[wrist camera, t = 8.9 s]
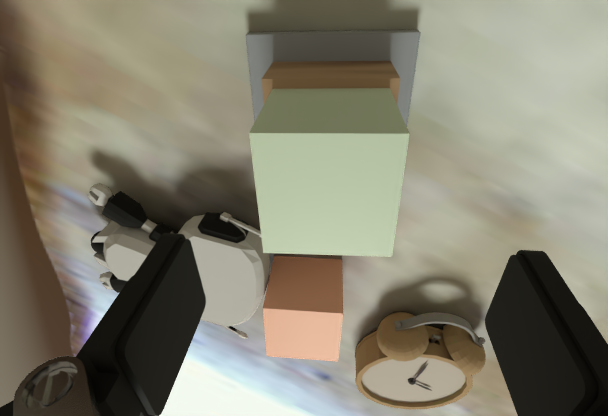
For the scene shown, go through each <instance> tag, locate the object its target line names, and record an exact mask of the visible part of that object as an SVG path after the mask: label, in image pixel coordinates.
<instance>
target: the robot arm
mask: <svg viewBox="0 0 608 416" xmlns="http://www.w3.org/2000/svg"><path fill="white" fill-rule="evenodd" d="M205 305H206V297H205V293H204V289H203V286H202V282H201V278H200V274H199V271H198V267H197V263H196V260H195V256H194V252H193V248H192V245H191V241H190V240H189V239H186V238H185V236H184V235H183V234H173V233H164V234H162V235H161V236H160V238H159V239H158V241H157V242H156V244H155V245H154V247H153V248H152V250H151V251H150V253H149V254H148V255H147V257H146V258H145V260H144V261H143V263H142V264H141V266H140V267H139V269H138V270H137V272H136V273H135V275H134V276H132V277H131V278H130V279H129V280H128V281H127V283H126V284H125V286H124V287H123V289H122V290H121V292H120V293H119V295H118V296H117V298H116V299H115V300H114V302H113V303H112V305H111V306H110V308H109V309H108V311H107V312H106V314H105V315H104V317H103V318H102V319H101V321H100V322H99V324H98V325H97V327H96V328H95V330H94V331H93V333H92V334H91V336H90V337H89V339H88V340H87V341H86V343H85V344H84V346H83V347H82V349H81V350H80V352H79V353H78V355H77V356H76V357H73V356H61V357H57V358H54V359H51V360H48V361H46V362H45V363H43V364H41V365H39V366H38V367H36V368H35V369H34V370H33V371H31V372H30V373H29V374H28V375H27V376H26V377H25V379H24V380H23V381H22V382H21V383H20V385H19V387H18V389H17V390H16V392H15V396H14V400H13V401H11V402H10V403H8V404H6V405H4V406H2V407H0V416H159V415H160V414H161V413H162V411H163V409H164V407H165V404H166V402H167V399H168V397H169V395H170V392H171V390H172V387H173V385H174V382H175V380H176V378H177V375H178V373H179V370H180V368H181V365H182V363H183V360H184V358H185V356H186V353H187V351H188V348H189V346H190V343H191V341H192V339H193V336H194V334H195V331H196V329H197V326H198V324H199V322H200V319H201V317H202V314H203V312H204V309H205ZM485 325H486V329H487V332H488V335H489V338H490V340H491V343H492V346H493V349H494V351H495V354H496V357H497V360H498V362H499V365H500V368H501V371H502V373H503V376H504V379H505V381H506V384H507V387H508V390H509V392H510V395H511V398H512V401H513V403H514V406H515V409H516V412H517V414H518V416H608V344H607V343H606V341H605V340H604V338H603V336H602V335H601V333H600V332H599V330H598V329H597V327H596V326H595V324H594V323H593V321H592V320H591V318H590V317H589V315H588V314H587V312H586V311H585V309H584V308H583V307H582V306H581V305H580V304H579V303H578V301H577V300H576V298H575V297H574V295H573V293H572V292H571V290H570V289H569V287H568V286H567V284H566V283H565V281H564V280H563V278H562V277H561V275H560V274H559V272H558V271H557V269H556V268H555V266H554V265H553V263H552V262H551V260H550V259H549V257H548V256H547V254H546V253H545V252H543V251H528V250H519V251H518V252H517V254H516V255H512V256H510V258H509V260H508V263H507V265H506V268H505V270H504V273H503V275H502V278H501V280H500V283H499V285H498V287H497V290H496V292H495V295H494V297H493V300H492V302H491V305H490V307H489V309H488V312H487V314H486V318H485Z"/></svg>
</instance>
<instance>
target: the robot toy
mask: <svg viewBox="0 0 608 416" xmlns="http://www.w3.org/2000/svg"><path fill="white" fill-rule="evenodd" d="M90 190H91V191H90V192H89V193H88V196H89V199H90V200H91V201H92V202H93V203H94V204H95V205H99V206H104V207H105V208H104V210H103V212H102V214H103V215H105V216H106V217H108V218H109V219H111V220H112V221H111V222H110V223H109V224H108V225H107V226H106V227H105V228H104V229H103V230H102V231H99V232H97V233H96V234H94V235H93V237H92V239H91V246H92V248H93V249H94V250H95V251H96V252H97V253H96V254H95V255H94V257H95V259H96V260H97V261H98V263H99V264H101V265H103V266H104V267H106V268H108V269H109V270H110V271H111V272H106V273H103V274H101V275H100V278H99V280H100V281H101V282H104V283H103V286H104V287H105V288H106V289H111V290H115V291H116V292H117V293H118V292H121V290H122V289H123V287H124V286H125V284H126V283H127V281H128V280H129V279H130V278H131V277H132V276H134V275H135V273H136V272H137V270H138V269H139V267H140V266H141V264H142V263H143V261H144V260H145V258H146V257H147V255H148V254H149V253H150V251H151V250H152V248H153V247H154V245H155V244H156V242H157V241H158V239H159V238H160V236H161V235H162V234H164V233H173V234H174V232H172V230H173V229H171V228H170V227H168V226H167V225H165V224H164V223H162V222H161V223H158V224H156V223H153V222H151V221H150V220H148V218H147V216H146V214H145V212H144V210H143V208H142V206H141V205H140V203H138V202H137V201H135V200H134V199H132V198H131V197H129V196H128V195H126V194H125V193H123V192H122V191H120V192H119V193H117V194H116V195H115V196H114V195H113V193H112V192H111V191H110V189H109V188H108V187H107V186H104V185H102V184H95V185H93V186H92V187H91V189H90ZM178 234H183V235H184V236H185V238H186V239H189V240H190V241H191V245H192V248H193V252H194V256H195V260H196V263H197V267H198V271H199V274H200V278H201V282H202V286H203V289H204V293H205V297H206V305H205V309H204V312H203V314H202V317H201V319H200V320H203V321H207V322H210V323H214V324H218V325H221V326H223V327H225V328H227V329H229V330H230V331H232V332H234V333H236V334H238V335H239V336H240V337H241V338H243V339H245V338H248V336H247V334H246V333H244V332H242V331H239V330H237V329H235V328H233V327H231V326H233V325H238V324H241V323H243V322H245V321H247V320H248V319H249V318H250V317H252V315H253V314H254V313H255V311H256V310H257V308H258V306H259V304H260V302H261V300H262V298H263V296H264V294H265V291H266V288H267V284H268V281H269V271H270V259H269V253H263V246H262V238H261V231H259V230H257V229H255V228H253V227H252V226H249V224H247V223H246V222H244V221H242V220H239V219H237V218H234V217H231V215H230V214H228V213H226V212H224V213H222V214H220V213H206V214H205V215H199V216H193V217H192V218H191V219H190V220H188V221H187V222H186V223H185V224H184V226H183V227H182V228H181V230H180V231H179V232H178Z"/></svg>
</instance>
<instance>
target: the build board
mask: <svg viewBox="0 0 608 416" xmlns="http://www.w3.org/2000/svg"><path fill="white" fill-rule="evenodd" d="M419 38H420V32H419V31H418V30H366V31H300V32H249V33H247V34H246V43H247V53H248V62H249V72H250V81H251V91H252V101H253V110H254V120H255V121H256V119H257V117H258V115H259V113H260V112H261V110H262V108H263V106H264V101H263V90H262V77H263V76H264V74H265V73H266V71H267V70H268V69H269V67H270V66H271V64H272V63H273V62H302V61H391V62H392V64H393V66H394V68H395V70H396V71H397V73H398V75H399V77H400V86H399V94H398V102H397V106H398V108H399V110H400V113H401V115H402V117H403V120H404V122H405V124H406V127H407V123H408V116H409V109H410V102H411V95H412V88H413V81H414V73H415V66H416V59H417V52H418V45H419Z"/></svg>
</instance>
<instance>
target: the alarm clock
mask: <svg viewBox="0 0 608 416" xmlns="http://www.w3.org/2000/svg"><path fill="white" fill-rule="evenodd" d="M432 323H442V324H447V325H445V326H444V327H443V330H441V329H438V328H435V327H431V326H425V325H424V324H432ZM484 343H485V339H484V338H482V337H480V338H479V337H478V336H477V335H476V334H475V333H474V332H473V330H472V327H471V325H470V324H469V322H468V321H466V320H465V319H463V318H461V317H459V316H456V315H453V314H448V313H433V312H432V313H424V314H420V315H417V316H414V315H412V314H409V313H406V312H397V313H392V314H390V315H388V316H386V317H385V318H384V319H383V320H382V321H381V323H380V325H379V327H378V329H377V331H375V332H373V333H371V334H370V335H368V336H366V337H364V338H363V340H362V341H361V342H360V343H359V344H358V345H357V348H356V353H355V358H356V384H357V387H358V390H359V391H360V392H361V393H362V394H363V395H364V396H365V397H367V398H368V399H370V400H372V401H374V402H376V403H379V404H382V405H386V406H390V407H394V408H402V409H428V408H434V407H440V406H444V405H447V404H450V403H453V402H456V401H457V400H459V399H460V398H462V397H464V396H465V395H467V393H468V392H469V390H470V389H471V388H472V375H474V374H476V373H478V372H479V371H481V369H482V368H483V366H484V364H485V351H484V347H483V345H482V344H484Z"/></svg>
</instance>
